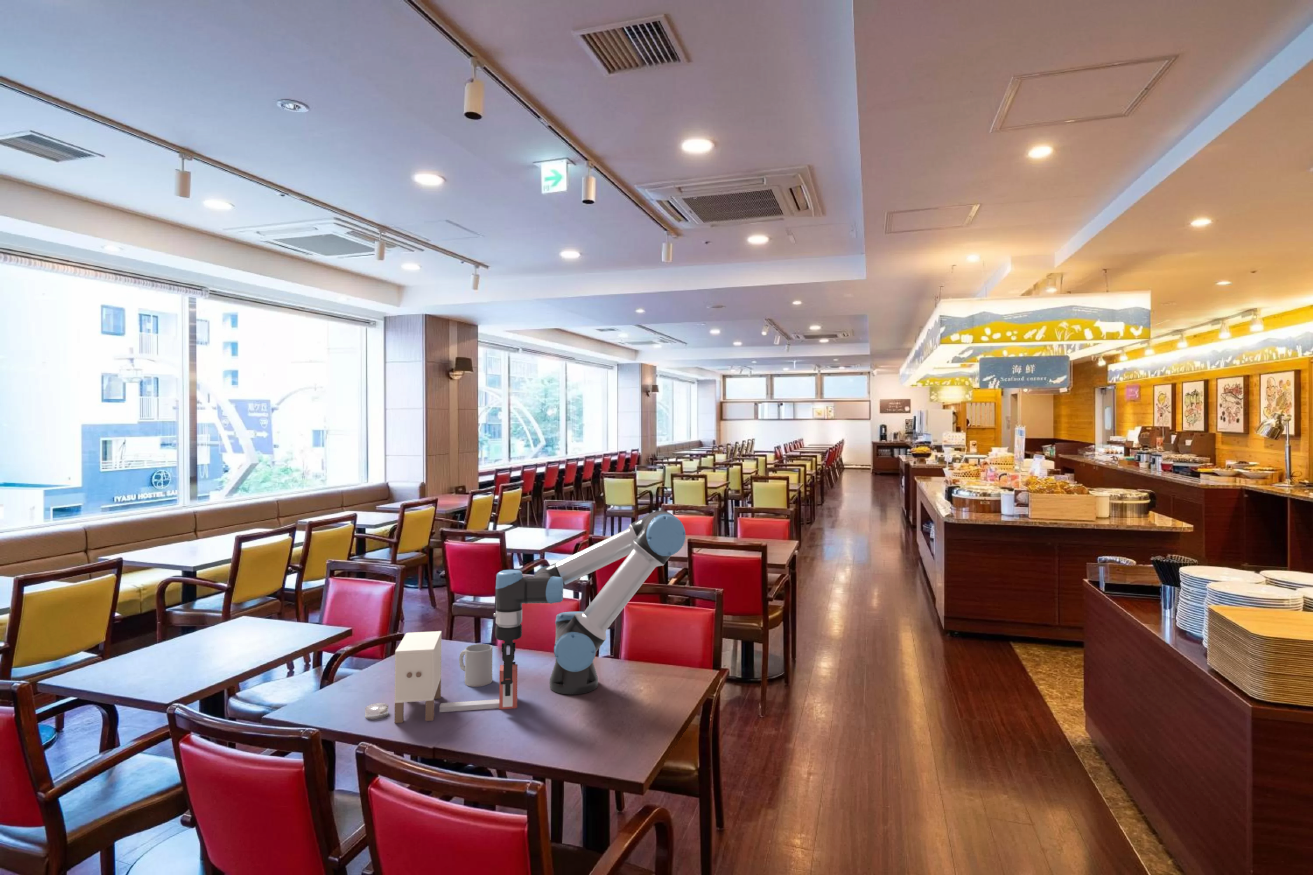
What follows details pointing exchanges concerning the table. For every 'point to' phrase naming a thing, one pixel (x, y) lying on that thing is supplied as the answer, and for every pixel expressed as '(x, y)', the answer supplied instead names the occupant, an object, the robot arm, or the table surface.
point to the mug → (477, 664)
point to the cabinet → (418, 672)
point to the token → (376, 711)
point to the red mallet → (485, 703)
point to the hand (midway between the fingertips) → (508, 697)
